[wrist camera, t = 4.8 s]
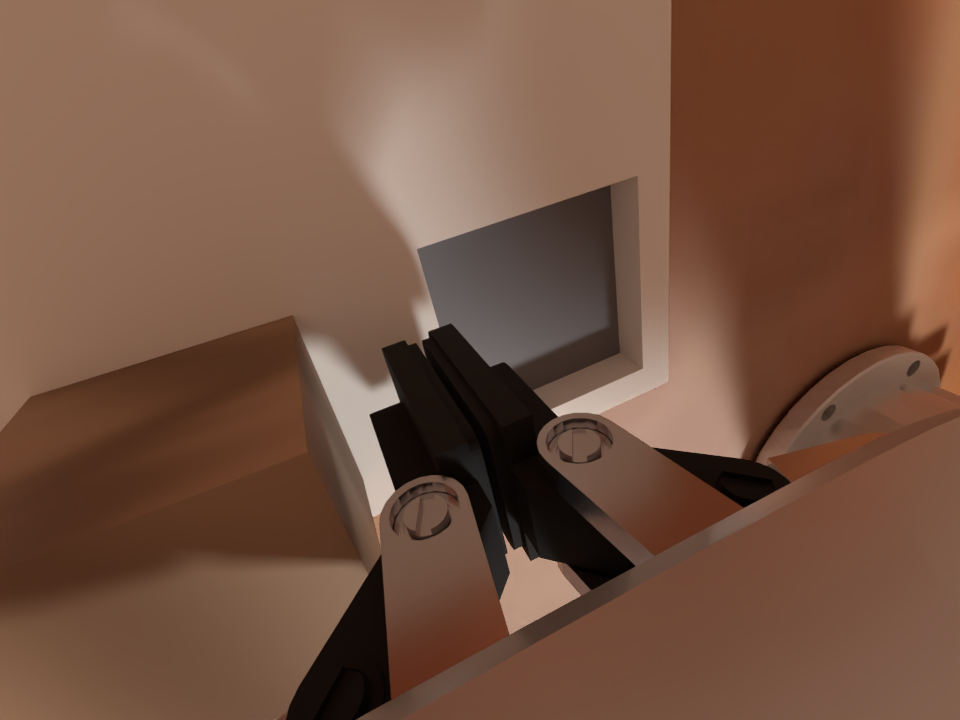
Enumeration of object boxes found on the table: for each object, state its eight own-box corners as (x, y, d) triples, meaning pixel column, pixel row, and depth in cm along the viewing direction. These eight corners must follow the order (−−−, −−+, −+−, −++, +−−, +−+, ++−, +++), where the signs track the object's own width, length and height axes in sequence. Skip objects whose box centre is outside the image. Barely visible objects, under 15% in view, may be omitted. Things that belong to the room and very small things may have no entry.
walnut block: (292, 315, 10) (307, 452, 6) (362, 478, 13) (407, 652, 9) (30, 397, 9) (-173, 634, 5) (165, 558, 12) (108, 803, 7)
